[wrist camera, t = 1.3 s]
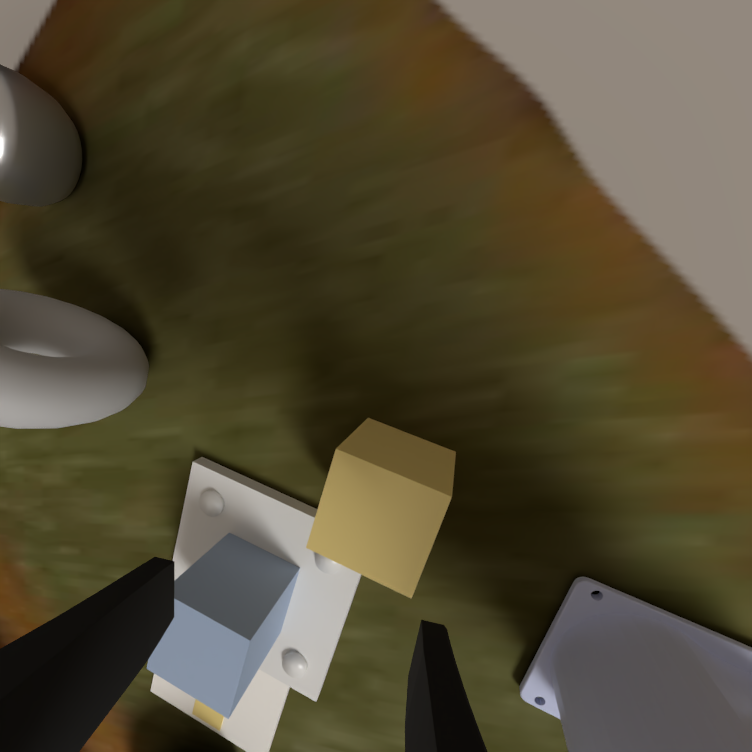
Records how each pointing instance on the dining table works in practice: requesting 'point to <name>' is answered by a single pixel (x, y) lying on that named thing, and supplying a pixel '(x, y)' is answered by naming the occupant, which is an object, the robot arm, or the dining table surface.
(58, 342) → the donut
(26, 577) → the dining table surface
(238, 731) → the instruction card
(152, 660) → the slate block
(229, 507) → the plate
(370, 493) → the mustard block
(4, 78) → the plastic bottle
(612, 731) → the robot arm
